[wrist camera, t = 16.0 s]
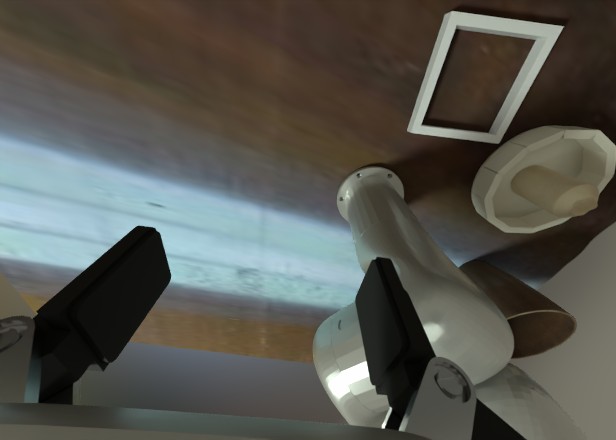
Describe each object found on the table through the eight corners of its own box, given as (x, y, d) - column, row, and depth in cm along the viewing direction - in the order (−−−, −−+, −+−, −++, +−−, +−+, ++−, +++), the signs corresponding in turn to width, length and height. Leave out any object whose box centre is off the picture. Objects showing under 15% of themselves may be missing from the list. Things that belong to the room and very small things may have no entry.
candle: (521, 163, 38) (581, 186, 29) (553, 166, 38) (621, 190, 29) (503, 192, 40) (553, 221, 32) (532, 195, 41) (590, 224, 32)
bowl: (583, 196, 41) (609, 207, 37) (478, 233, 46) (492, 246, 43) (590, 102, 33) (624, 104, 30) (463, 159, 38) (478, 167, 35)
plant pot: (497, 235, 47) (571, 298, 33) (514, 276, 52) (583, 344, 39) (428, 266, 52) (467, 331, 38) (451, 300, 58) (492, 366, 44)
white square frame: (551, 29, 29) (563, 26, 28) (491, 141, 37) (498, 143, 35) (444, 14, 29) (451, 10, 27) (406, 130, 36) (410, 132, 35)
